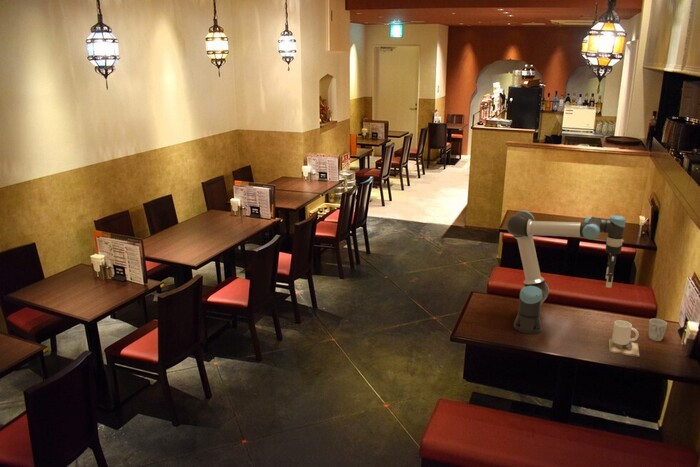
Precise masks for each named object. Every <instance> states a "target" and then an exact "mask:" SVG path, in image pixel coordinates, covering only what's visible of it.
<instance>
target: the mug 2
mask: <svg viewBox="0 0 700 467" xmlns="http://www.w3.org/2000/svg"><path fill="white" fill-rule="evenodd" d="M667 327H668V322H667V321H665V320H664V319H660V318H650V319H649V322H648V338H649V339H650V340H651V341H654V342H661V341H662V340H663V338H664V336H665V333H666V330H667Z"/></svg>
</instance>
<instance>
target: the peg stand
mask: <svg viewBox="0 0 700 467" xmlns="http://www.w3.org/2000/svg"><path fill="white" fill-rule="evenodd" d="M608 352H610V353H615V354H619V355H624V356H630V357H637V358H639V357H640V350H639V343H638V342H633V341H629V343H628V344H627V345H620V344H617V343H615V342H613V341H612V338H608Z"/></svg>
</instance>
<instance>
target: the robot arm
mask: <svg viewBox="0 0 700 467" xmlns="http://www.w3.org/2000/svg"><path fill="white" fill-rule="evenodd" d="M626 220H627V219H626V218H625V216H622V215H611V216H610V217H609V218H603V217H597V216H586V217H585V218H584V222H580V221H579V222H577V221H574V222H573V221H548V220H547V221H545V220H544V221H543V220H535V217H534V216H533V214H532V213H531V212H529V211H527V210H520V211H517V212H515V213H514V214H513V215H511V217H509V218H508V219H507V221H506V230H507V232H508V233H509V234H510V235H512V236H513V238H514V239H516V241H517V244H518V249H519V254H520V260H521V263H522V268H523V274H524V277H525V280H523V287H522V288H521V290H520V292H519V298H518V299H519V302H518V310H517V315H516V317H515V319H514V321H513V328H514V329H515V330H516V331H517V330H518V331H517V332H520V333H522V334H529V335H535V334H540V333H541V332H542V329H543V326H542V321H541V317H540V316H541V308H542V304H543V303H544V302H545V300H546V299H547V298H548V296H549V293H550V288H549V286H548V284H547V283H546V280H545V278H544V277H543V276H541V270H540V265H539V261H538V257H537V252H536V251H537V250H536V246H535V241H534V236H545V237H546V236H552V237H571V238H572V237H579V238H585V239H587V240H594V239H596V238H597V237H598V236H599V235H600V233H603V234H607V236H606V241H605V242H606V244H605V253H608V255H607V263H606V265H607V267H606V273H605V279H606V282H605V288H610V289H612V286H613V280H614V276H615V275H614V274H615V265H616V262H617V257H618V256H617V255H619V254H621V253H622V248H623V247H622V246H623V242H625V240H624V236H625V235H624V234H625V229H626Z"/></svg>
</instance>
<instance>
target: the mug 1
mask: <svg viewBox="0 0 700 467" xmlns="http://www.w3.org/2000/svg"><path fill="white" fill-rule="evenodd" d="M632 332H634V333H635V336H634V337H631V334H632ZM611 335H612V336H611V339H612V341H613V342H615V343H617V344H620V345H627V344H628V343H629V341H632V342H636V340H638V338H639V335H640V334H639V331H638V330H637V329H636V328H635V327H633V324H632V323H631V322H629V321H627V320H622V319H621V320H620V319H619V320H614V323H613V330H612V334H611Z"/></svg>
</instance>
